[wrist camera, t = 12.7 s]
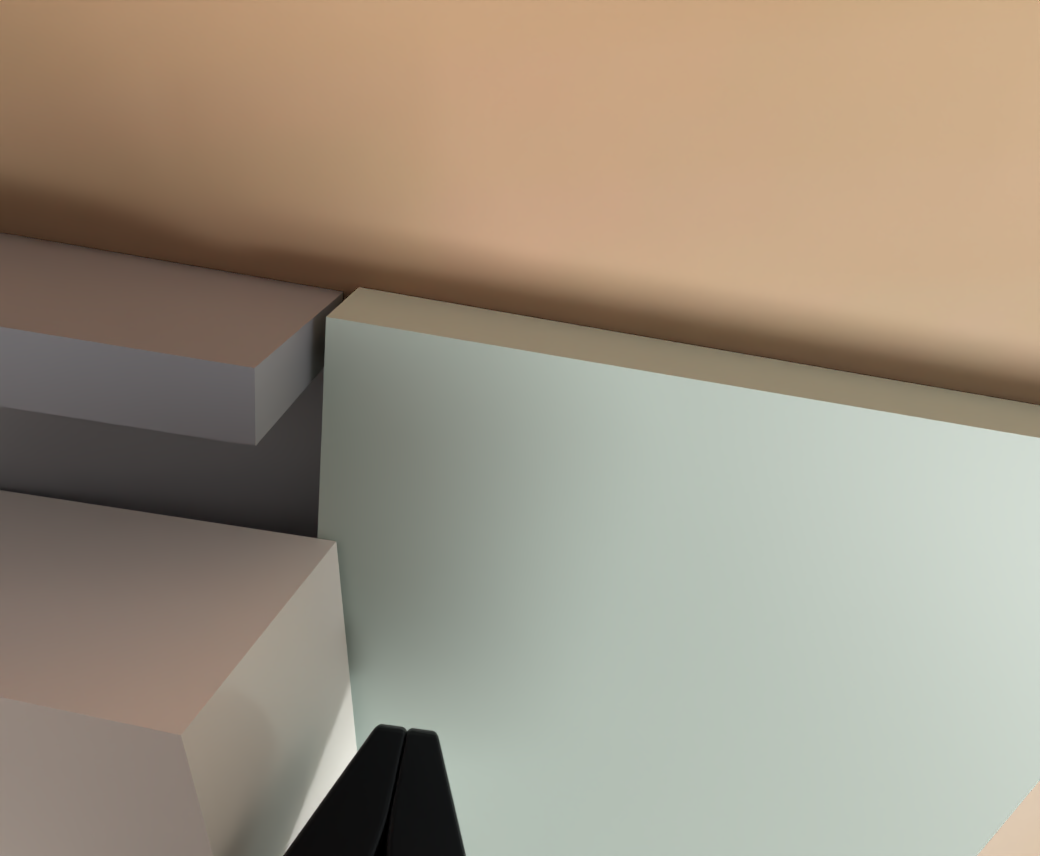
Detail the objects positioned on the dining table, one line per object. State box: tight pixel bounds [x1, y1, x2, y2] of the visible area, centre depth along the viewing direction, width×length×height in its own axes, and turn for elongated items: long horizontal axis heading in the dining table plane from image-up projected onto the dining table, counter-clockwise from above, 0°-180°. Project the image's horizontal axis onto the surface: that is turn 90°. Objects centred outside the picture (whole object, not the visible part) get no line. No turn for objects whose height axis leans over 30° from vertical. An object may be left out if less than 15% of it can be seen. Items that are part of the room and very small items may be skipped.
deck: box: [318, 287, 1040, 856], centre depth 12 cm, size 19×12×2 cm, turn 170°
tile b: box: [0, 490, 357, 856], centre depth 8 cm, size 6×6×3 cm
